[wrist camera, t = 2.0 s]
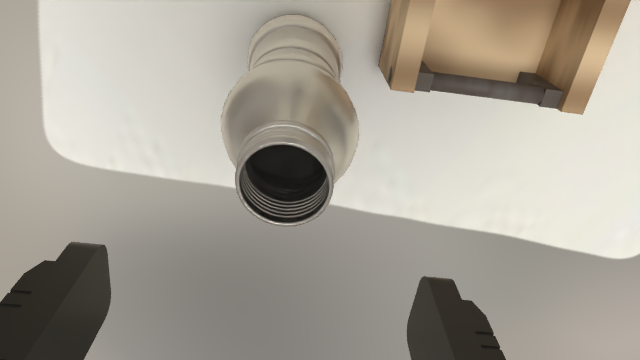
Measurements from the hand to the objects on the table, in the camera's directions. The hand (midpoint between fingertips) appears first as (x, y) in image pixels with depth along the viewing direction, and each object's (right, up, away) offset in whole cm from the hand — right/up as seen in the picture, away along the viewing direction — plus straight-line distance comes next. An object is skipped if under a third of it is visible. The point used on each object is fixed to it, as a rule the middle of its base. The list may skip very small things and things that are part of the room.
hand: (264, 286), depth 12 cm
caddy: (+13, +17, +21) cm, 30 cm away
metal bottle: (0, +12, +23) cm, 26 cm away
